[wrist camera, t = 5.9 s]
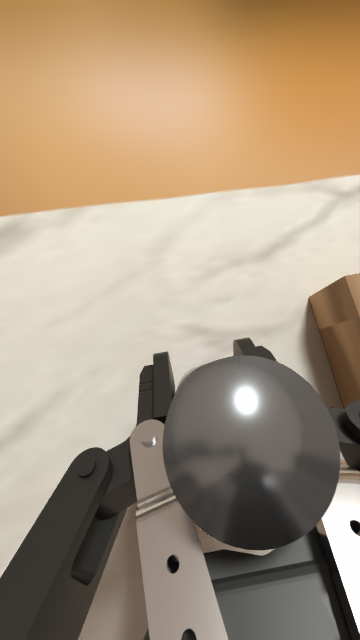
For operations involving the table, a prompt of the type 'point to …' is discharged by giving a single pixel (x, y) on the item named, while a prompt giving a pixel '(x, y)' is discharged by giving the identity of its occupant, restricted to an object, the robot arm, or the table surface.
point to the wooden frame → (341, 332)
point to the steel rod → (251, 452)
